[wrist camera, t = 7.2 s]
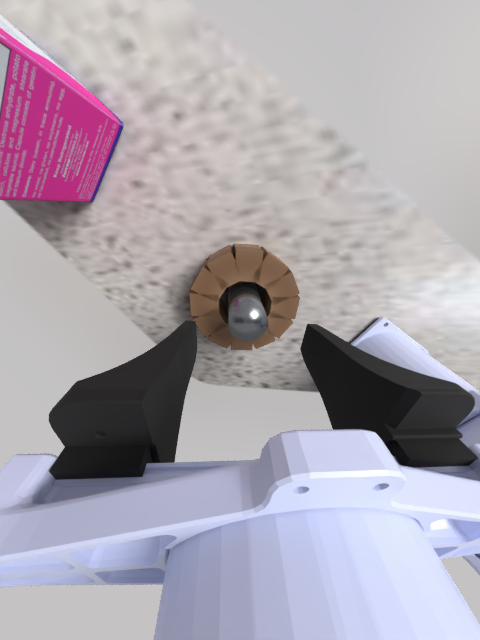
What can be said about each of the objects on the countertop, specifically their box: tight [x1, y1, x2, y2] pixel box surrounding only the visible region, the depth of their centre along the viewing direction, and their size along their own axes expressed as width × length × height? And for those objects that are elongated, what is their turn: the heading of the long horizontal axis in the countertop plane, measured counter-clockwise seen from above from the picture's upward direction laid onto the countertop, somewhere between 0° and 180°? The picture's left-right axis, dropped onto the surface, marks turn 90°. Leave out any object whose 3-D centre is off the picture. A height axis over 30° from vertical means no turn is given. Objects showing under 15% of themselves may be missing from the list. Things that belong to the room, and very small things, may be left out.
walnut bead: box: [190, 244, 300, 350], centre depth 17 cm, size 9×9×3 cm
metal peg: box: [228, 281, 268, 341], centre depth 16 cm, size 3×3×6 cm
